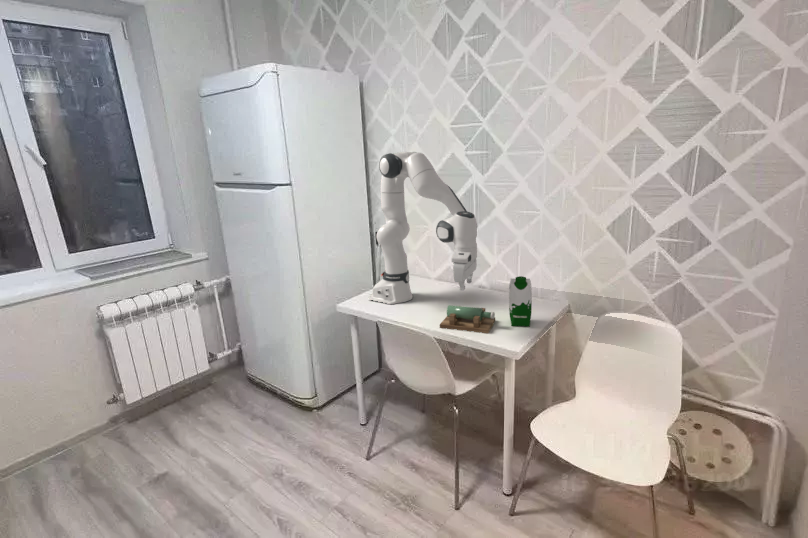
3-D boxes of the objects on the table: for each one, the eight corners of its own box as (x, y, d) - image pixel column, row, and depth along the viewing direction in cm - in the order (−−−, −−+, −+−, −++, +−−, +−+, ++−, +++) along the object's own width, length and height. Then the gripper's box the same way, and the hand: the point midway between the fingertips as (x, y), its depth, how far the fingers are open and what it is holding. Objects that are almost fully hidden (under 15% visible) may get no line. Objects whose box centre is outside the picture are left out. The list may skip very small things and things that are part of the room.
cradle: (488, 333, 163) (487, 320, 162) (439, 327, 171) (439, 315, 170) (495, 320, 174) (495, 308, 173) (449, 316, 183) (449, 304, 181)
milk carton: (509, 327, 168) (509, 279, 162) (509, 318, 176) (509, 272, 171) (532, 327, 165) (532, 279, 160) (530, 318, 174) (531, 272, 169)
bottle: (445, 312, 172) (448, 302, 175) (448, 319, 175) (451, 309, 178) (491, 317, 164) (494, 306, 167) (493, 324, 168) (495, 313, 170)
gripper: (465, 246, 175) (465, 278, 179) (449, 259, 157) (450, 293, 161) (480, 247, 172) (480, 279, 176) (466, 260, 155) (466, 295, 158)
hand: (465, 286), depth 168 cm, fingers open, 8 cm apart
